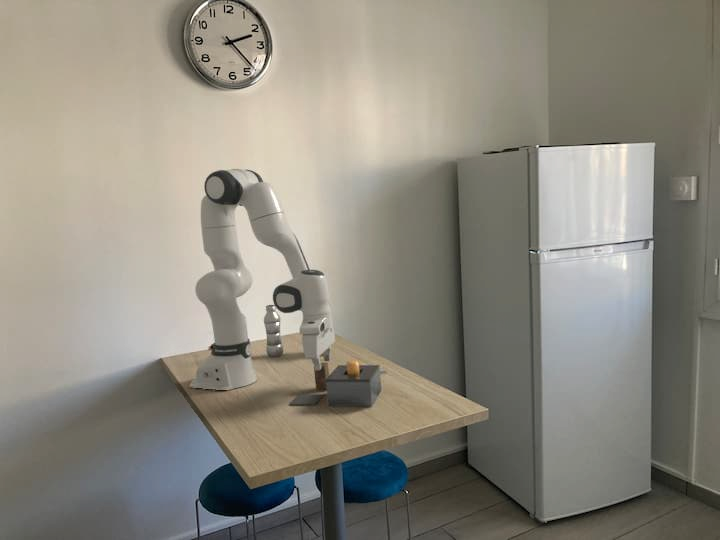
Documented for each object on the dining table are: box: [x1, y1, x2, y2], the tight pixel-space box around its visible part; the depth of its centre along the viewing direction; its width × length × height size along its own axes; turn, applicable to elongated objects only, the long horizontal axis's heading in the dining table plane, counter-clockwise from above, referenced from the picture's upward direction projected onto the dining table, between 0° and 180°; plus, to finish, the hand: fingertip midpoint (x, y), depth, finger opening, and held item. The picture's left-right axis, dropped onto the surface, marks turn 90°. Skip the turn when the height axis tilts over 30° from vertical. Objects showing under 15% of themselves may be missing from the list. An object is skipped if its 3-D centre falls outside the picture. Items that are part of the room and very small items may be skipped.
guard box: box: [326, 364, 382, 408], centre depth 168 cm, size 13×13×8 cm
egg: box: [346, 359, 360, 375], centre depth 167 cm, size 4×4×6 cm
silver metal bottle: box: [263, 304, 284, 358], centre depth 220 cm, size 6×7×20 cm
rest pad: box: [288, 393, 324, 407], centre depth 170 cm, size 8×8×1 cm
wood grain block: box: [313, 362, 330, 392], centre depth 178 cm, size 4×4×8 cm
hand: (323, 364), depth 177 cm, fingers open, 8 cm apart
